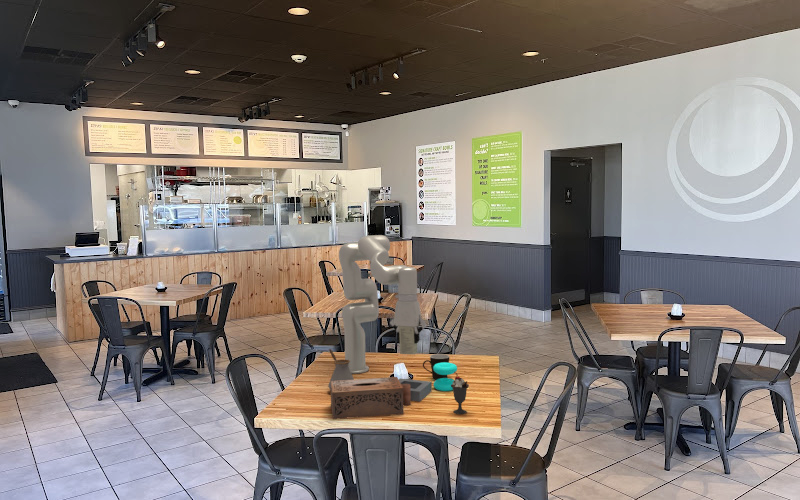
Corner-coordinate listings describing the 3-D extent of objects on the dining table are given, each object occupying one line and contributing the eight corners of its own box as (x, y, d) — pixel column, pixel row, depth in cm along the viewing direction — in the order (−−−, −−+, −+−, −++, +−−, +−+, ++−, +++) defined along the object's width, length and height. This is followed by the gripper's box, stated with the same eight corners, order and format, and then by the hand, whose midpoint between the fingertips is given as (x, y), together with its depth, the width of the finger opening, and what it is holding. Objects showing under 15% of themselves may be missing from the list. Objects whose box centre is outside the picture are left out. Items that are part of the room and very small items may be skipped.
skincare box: (417, 352, 239) (417, 322, 238) (414, 355, 235) (414, 324, 234) (402, 351, 241) (402, 321, 240) (399, 353, 237) (398, 323, 236)
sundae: (449, 409, 221) (449, 370, 220) (467, 408, 221) (466, 369, 220) (452, 415, 214) (452, 375, 213) (470, 414, 215) (470, 374, 214)
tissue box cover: (397, 402, 231) (396, 376, 230) (403, 414, 217) (403, 387, 216) (331, 406, 227) (330, 381, 226) (333, 419, 213) (332, 392, 212)
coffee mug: (449, 375, 265) (449, 354, 264) (449, 381, 256) (449, 358, 256) (423, 375, 266) (423, 353, 265) (422, 381, 257) (422, 358, 257)
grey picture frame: (386, 397, 235) (386, 387, 235) (400, 387, 248) (400, 378, 248) (419, 401, 230) (419, 391, 230) (431, 391, 243) (431, 381, 243)
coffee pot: (360, 393, 241) (359, 357, 240) (333, 398, 236) (332, 361, 235) (342, 380, 260) (341, 346, 259) (317, 384, 255) (316, 349, 254)
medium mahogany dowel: (399, 405, 226) (399, 385, 226) (403, 402, 230) (403, 383, 229) (408, 406, 225) (408, 386, 225) (412, 403, 228) (411, 384, 228)
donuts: (459, 362, 249) (453, 368, 240) (459, 385, 250) (453, 392, 241) (437, 360, 253) (430, 366, 243) (437, 383, 253) (430, 390, 244)
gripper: (384, 298, 236) (385, 342, 238) (424, 300, 230) (425, 345, 231) (391, 295, 243) (392, 338, 245) (431, 297, 237) (431, 341, 238)
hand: (408, 341), depth 238 cm, fingers closed on skincare box, 6 cm apart
